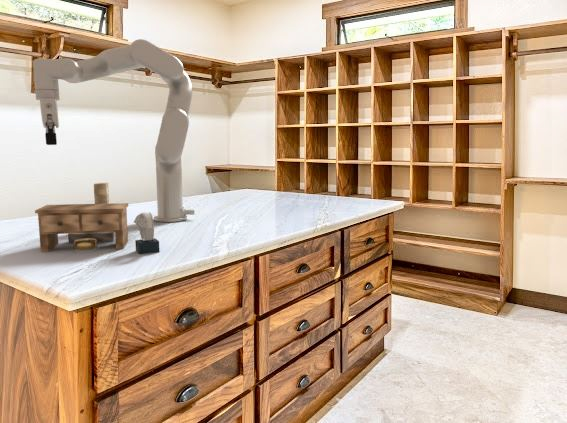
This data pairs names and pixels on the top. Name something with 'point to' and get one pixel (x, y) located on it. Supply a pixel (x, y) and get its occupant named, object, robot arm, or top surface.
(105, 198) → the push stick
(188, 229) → the top surface
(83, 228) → the cabinet
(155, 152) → the robot arm
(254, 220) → the top surface
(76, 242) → the brass token
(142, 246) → the watch
